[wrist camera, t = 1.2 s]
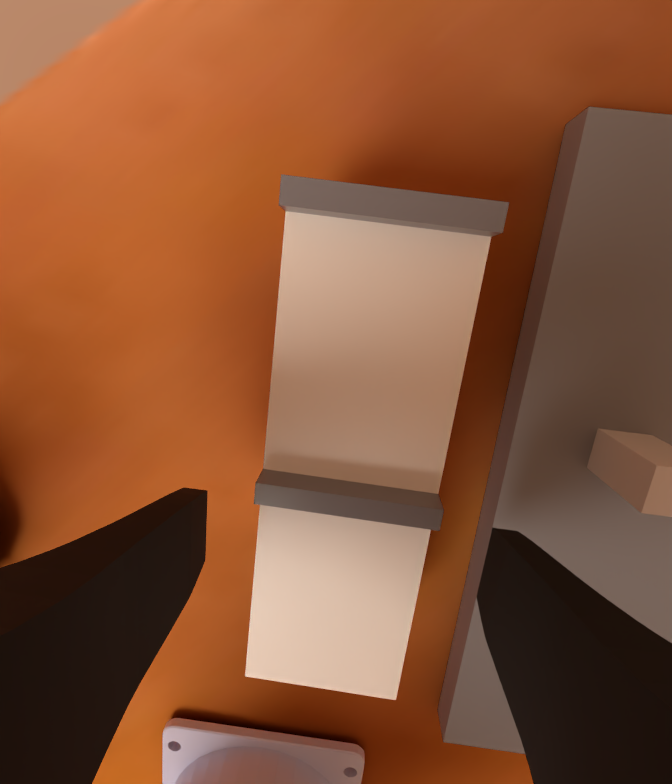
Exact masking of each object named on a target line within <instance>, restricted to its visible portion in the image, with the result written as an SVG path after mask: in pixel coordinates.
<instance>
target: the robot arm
mask: <svg viewBox="0 0 672 784" xmlns="http://www.w3.org/2000/svg"><path fill="white" fill-rule="evenodd" d="M206 519H207V491H206V490H198V489H190V488H182V489H179V490H177V491H175V492H173V493H171V494H169V495H167V496H165V497H163V498H161V499H159V500H157V501H155V502H153V503H151V504H149V505H147V506H145V507H143V508H141V509H139V510H137V511H135V512H134V513H132V514H130V515H128V516H126V517H124V518H122V519H120V520H118V521H116V522H114V523H111V524H109V525H107V526H105V527H103V528H101V529H98V530H96V531H94V532H92V533H90V534H87V535H85V536H83V537H81V538H79V539H77V540H74V541H72V542H70V543H67V544H65V545H62V546H60V547H57V548H55V549H52V550H50V551H47V552H45V553H42V554H39V555H36V556H34V557H31V558H28V559H26V560H23V561H20V562H17V563H14V564H11V565H8V566H5V567H2V568H0V784H92V782H93V780H94V778H95V776H96V773H97V771H98V769H99V767H100V764H101V762H102V760H103V758H104V756H105V753H106V751H107V749H108V747H109V745H110V743H111V741H112V738H113V736H114V734H115V732H116V730H117V728H118V726H119V723H120V721H121V719H122V717H123V715H124V713H125V711H126V709H127V706H128V705H129V703H130V701H131V699H132V697H133V695H134V693H135V691H136V689H137V688H138V686H139V684H140V682H141V680H142V679H143V677H144V675H145V674H146V672H147V670H148V668H149V667H150V665H151V663H152V662H153V660H154V658H155V656H156V655H157V653H158V651H159V650H160V648H161V646H162V644H163V643H164V641H165V639H166V637H167V636H168V634H169V632H170V631H171V629H172V627H173V625H174V624H175V622H176V620H177V618H178V617H179V615H180V613H181V611H182V610H183V608H184V606H185V604H186V603H187V601H188V599H189V597H190V595H191V593H192V591H193V588H194V586H195V584H196V581H197V579H198V577H199V574H200V572H201V569H202V567H203V564H204V562H205V552H206ZM476 597H477V602H478V607H479V612H480V617H481V622H482V626H483V630H484V635H485V639H486V642H487V645H488V648H489V651H490V653H491V656H492V659H493V662H494V665H495V668H496V671H497V674H498V676H499V679H500V682H501V685H502V688H503V691H504V693H505V696H506V699H507V702H508V705H509V707H510V710H511V713H512V716H513V719H514V722H515V724H516V727H517V730H518V733H519V736H520V738H521V741H522V745H523V748H524V751H525V754H526V757H527V761H528V764H529V767H530V771H531V775H532V779H533V783H534V784H672V643H671V642H669V641H667V640H666V639H664V638H663V637H661V636H659V635H658V634H656V633H655V632H653V631H652V630H650V629H649V628H647V627H646V626H644V625H643V624H641V623H640V622H638V621H637V620H635V619H634V618H633V617H631V616H630V615H628V614H627V613H626V612H624V611H623V610H621V609H620V608H619V607H617V606H616V605H614V604H613V603H612V602H610V601H609V600H607V599H606V598H605V597H603V596H602V595H601V594H599V593H598V592H597V591H595V590H594V589H593V588H591V587H590V586H589V585H587V584H586V583H585V582H584V581H582V580H581V579H580V578H578V577H577V576H576V575H575V574H573V573H572V572H571V571H569V570H568V569H567V568H566V567H564V566H563V565H562V564H561V563H559V562H558V561H557V560H556V559H554V558H553V557H552V556H551V555H549V554H548V553H547V552H545V551H544V550H543V549H542V548H540V547H539V546H538V545H537V544H535V543H534V542H533V541H531V540H530V539H529V538H527V537H526V536H524V535H523V534H521V533H520V532H518V531H514V530H507V529H499V528H492V532H491V536H490V540H489V545H488V549H487V553H486V558H485V562H484V566H483V570H482V575H481V579H480V583H479V588H478V592H477V596H476ZM364 764H365V755H364V750H363V749H362V748H361V747H360V746H359V745H357V744H353V743H346V742H340V741H333V740H326V739H319V738H312V737H305V736H299V735H292V734H285V733H278V732H271V731H265V730H258V729H251V728H244V727H237V726H230V725H224V724H217V723H210V722H203V721H196V720H190V719H183V718H173V719H170V720H169V721H168V722H167V723H166V726H165V728H164V730H163V760H162V784H361V782H362V776H363V770H364Z"/></svg>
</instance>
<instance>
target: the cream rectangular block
mask: <svg viewBox="0 0 672 784" xmlns="http://www.w3.org/2000/svg"><path fill="white" fill-rule="evenodd" d="M279 206H280V207H282V208H283V209H284V210H285V211H286V214H285V225H284V237H283V248H282V260H281V271H280V282H279V294H278V305H277V317H276V328H275V340H274V351H273V362H272V374H271V385H270V397H269V408H268V420H267V431H266V442H265V454H264V465H263V470H262V472H261V474H260V476H259V478H258V479H257V481H256V485H255V497H254V504H258V505H260V511H259V523H258V534H257V545H256V557H255V568H254V580H253V591H252V603H251V614H250V625H249V637H248V648H247V660H246V671H245V676H246V677H252V678H259V679H265V680H271V681H277V682H284V683H290V684H296V685H303V686H309V687H315V688H322V689H328V690H334V691H341V692H347V693H353V694H359V695H366V696H372V697H378V698H385V699H391V700H396V697H397V692H398V687H399V682H400V678H401V673H402V668H403V663H404V658H405V653H406V649H407V644H408V639H409V634H410V629H411V624H412V619H413V615H414V610H415V605H416V600H417V595H418V590H419V585H420V581H421V576H422V571H423V566H424V561H425V556H426V551H427V547H428V542H429V537H430V532H431V530H436V531H440V526H441V522H442V517H443V512H444V509H443V506H442V503H441V500H440V497H439V494H438V493H439V488H440V484H441V479H442V474H443V469H444V464H445V459H446V454H447V450H448V445H449V440H450V435H451V430H452V425H453V420H454V416H455V411H456V406H457V401H458V396H459V391H460V387H461V382H462V377H463V372H464V367H465V362H466V357H467V353H468V348H469V343H470V338H471V333H472V328H473V323H474V319H475V314H476V309H477V304H478V299H479V294H480V289H481V285H482V280H483V275H484V270H485V265H486V260H487V256H488V251H489V246H490V241H491V237H492V236H495V235H498V234H501V233H503V229H504V225H505V220H506V215H507V211H508V206H509V202H502V201H494V200H486V199H478V198H470V197H461V196H453V195H445V194H437V193H429V192H420V191H412V190H404V189H396V188H388V187H379V186H371V185H363V184H355V183H347V182H338V181H330V180H322V179H314V178H306V177H297V176H289V175H281V184H280V196H279Z"/></svg>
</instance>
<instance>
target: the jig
mask: <svg viewBox="0 0 672 784" xmlns="http://www.w3.org/2000/svg"><path fill="white" fill-rule="evenodd" d="M492 528H499V529H507V530H514V531H518V532H520V533H521V534H523V535H524V536H526V537H527V538H529V539H530V540H531V541H533V542H534V543H535V544H537V545H538V546H539V547H540V548H542V549H543V550H544V551H545V552H547V553H548V554H549V555H551V556H552V557H553V558H554V559H556V560H557V561H558V562H559V563H561V564H562V565H563V566H564V567H566V568H567V569H568V570H569V571H571V572H572V573H573V574H575V575H576V576H577V577H578V578H580V579H581V580H582V581H584V582H585V583H586V584H587V585H589V586H590V587H591V588H593V589H594V590H595V591H597V592H598V593H599V594H601V595H602V596H603V597H605V598H606V599H607V600H609V601H610V602H612V603H613V604H614V605H616V606H617V607H619V608H620V609H621V610H623V611H624V612H626V613H627V614H628V615H630V616H631V617H633V618H634V619H635V620H637V621H638V622H640V623H641V624H643V625H644V626H646V627H647V628H649V629H650V630H652V631H653V632H655V633H656V634H658V635H659V636H661V637H663V638H664V639H666V640H667V641H669V642H671V643H672V115H670V114H660V113H650V112H639V111H629V110H619V109H609V108H598V107H588V108H586V109H585V110H584V111H583V112H581V113H580V114H579V115H577V116H576V117H575V118H573V119H572V120H571V121H570V122H568V123H567V124H566V125H565V130H564V134H563V139H562V144H561V148H560V153H559V157H558V162H557V166H556V171H555V175H554V180H553V185H552V189H551V194H550V198H549V203H548V207H547V212H546V217H545V221H544V226H543V230H542V235H541V239H540V244H539V249H538V253H537V258H536V262H535V267H534V271H533V276H532V280H531V285H530V290H529V294H528V299H527V303H526V308H525V312H524V317H523V322H522V326H521V331H520V335H519V340H518V344H517V349H516V353H515V358H514V363H513V367H512V372H511V376H510V381H509V385H508V390H507V395H506V399H505V404H504V408H503V413H502V417H501V422H500V426H499V431H498V436H497V440H496V445H495V449H494V454H493V458H492V463H491V468H490V472H489V477H488V481H487V486H486V490H485V495H484V499H483V504H482V509H481V513H480V518H479V522H478V527H477V531H476V536H475V541H474V545H473V550H472V554H471V559H470V563H469V568H468V573H467V577H466V582H465V586H464V591H463V595H462V600H461V604H460V609H459V614H458V618H457V623H456V627H455V632H454V636H453V641H452V646H451V650H450V655H449V659H448V664H447V668H446V673H445V677H444V682H443V687H442V691H441V696H440V700H439V705H438V715H439V721H440V727H441V733H442V738H443V742H446V743H453V744H460V745H467V746H473V747H480V748H487V749H494V750H501V751H508V752H515V753H521V754H525V751H524V748H523V745H522V741H521V738H520V736H519V733H518V730H517V727H516V724H515V722H514V719H513V716H512V713H511V710H510V707H509V705H508V702H507V699H506V696H505V693H504V691H503V688H502V685H501V682H500V679H499V676H498V674H497V671H496V668H495V665H494V662H493V659H492V656H491V653H490V651H489V648H488V645H487V642H486V639H485V635H484V630H483V626H482V622H481V617H480V612H479V607H478V602H477V597H476V596H477V592H478V588H479V583H480V579H481V575H482V570H483V566H484V562H485V558H486V553H487V549H488V545H489V540H490V536H491V532H492Z"/></svg>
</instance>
